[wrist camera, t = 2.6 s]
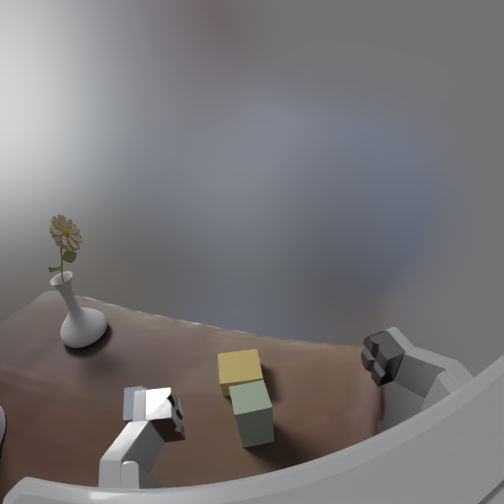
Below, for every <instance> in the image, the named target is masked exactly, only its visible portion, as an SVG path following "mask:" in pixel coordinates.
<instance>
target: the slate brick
mask: <svg viewBox="0 0 504 504" xmlns="http://www.w3.org/2000/svg"><path fill="white" fill-rule="evenodd" d="M138 388H144V387H143V386H138V387H130V388H124V413H123V420H124V422H125V423H126V424H128V423H129V422H133V402H134V391H135V389H138Z"/></svg>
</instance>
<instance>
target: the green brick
mask: <svg viewBox="0 0 504 504" xmlns="http://www.w3.org/2000/svg"><path fill="white" fill-rule="evenodd" d="M229 390H230V395H231V400H232V404H233V409H234V414H235V418H236V422H237V425H238V429H239V433H240V437H241V441H242V444H243V448H246V447H251V446H256V445H260V444H265V443H269V442H274V430H273V410H272V404H271V401H270V398H269V395H268V392H267V389H266V386H265V383H264V380H260V381H256V382H251V383H246V384H241V385H236V386H230V387H229Z"/></svg>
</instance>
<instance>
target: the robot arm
mask: <svg viewBox="0 0 504 504" xmlns="http://www.w3.org/2000/svg"><path fill="white" fill-rule="evenodd" d="M364 345H365V348H364V349H363V350H362V353H361V360H362V363H363V366H364V367H365V369H366V370H367V371H370V372H372V374H371V378H372V379H373V380H374V382H375V383H376V385H377V386H378V387H380V386H382V385H385V384H387V383H389V382H392V381H394V382H396V383H397V384H399V385H401V386H403V387H405V388H407V389H408V390H410V391H412V392H414V393H416V394H418V395H420V396H422V397H424V398H425V400H424V402H423V403H422V405H421V408H420V409H421V410H422V412H420V413H419V414H417V415H416V416H413V417H412V418H410V419H408V420H406V421H404V422H402V423H400V424H398V425H396V426H394V427H393V428H390V429H388V430H386V431H384V432H382V433H380V434H378V435H376V436H373V437H371V438H369V439H367V440H365V441H362V442H360V443H357V444H355V445H353V446H350V447H348V448H345V449H343V450H340V451H337V452H335V453H332V454H329V455H326V456H324V457H321V458H318V459H315V460H312V461H309V462H306V463H302V464H299V465H296V466H292V467H289V468H285V469H281V470H278V471H274V472H270V473H265V474H261V475H257V476H252V477H247V478H242V479H237V480H231V481H226V482H219V483H212V484H205V485H196V486H186V487H174V488H161V484H159V483H158V482H157V481H156V480H155V479H154V478H153V477H152V476H150V475H149V474H150V472H151V470H152V468H153V466H154V465H155V463H156V461H157V459H158V457H159V455H160V453H161V451H162V449H163V447H164V446H165V444H166V443H165V442H172V441H180V440H185V433H184V426H183V424H182V422H181V420H182V418H183V413H182V408H181V404H180V401H179V399H178V397H177V396H175V390H174V388H173V386H172V385H168V386H158V387H148V388H138V389H135V391H134V402H133V422H129V423H128V424H127V425H126V427H125V428H124V429H123V431H122V432H121V433H120V435H119V436H118V437H117V439H116V440H115V441H114V443H113V444H112V445H111V447H110V448H109V449H108V450H107V452H106V453H105V454H104V456H103V457H102V458H101V460H100V469H99V487H89V486H80V485H71V484H64V483H58V482H52V481H47V480H42V479H37V478H32V477H25V478H23V479H22V480H21V481H19V482H18V483H17V484H16V485H15V486H14V487H13V488H12V489H11V490H10V491H9V492H8V493H7V495H6V496H5V498H4V500H3V504H504V354H503V355H502V356H501V357H500V358H498V359H497V360H496V361H495V362H494V363H492V364H491V365H490V366H489V367H487V368H486V369H485V370H483V371H482V372H481V373H480V374H478V375H477V376H476V377H473V376H472V375H471V374H470V373H469V372H468V371H467V370H466V369H465V367H464V366H463V365H462V364H461V363H460V362H459V361H456V360H454V359H450V358H448V357H445V356H442V355H439V354H436V353H433V352H430V351H428V350H424V349H422V348H419V347H417V348H415V347H414V346H413V345H412V344H411V343H410V342H409V340H408V339H407V338H406V337H405V336H404V335H403V334H402V333H401V332H400V331H399V330H398V329H397V328H396V327H392V328H390V329H387V330H384V331H381V332H378V333H376V334H373V335H370V336H368V337H366V338H365V339H364ZM5 425H6V420H5V414H4V411H3V409H2V407H1V406H0V445H1V441H2V439H3V436H4V432H5Z"/></svg>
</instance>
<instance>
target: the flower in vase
mask: <svg viewBox="0 0 504 504" xmlns="http://www.w3.org/2000/svg"><path fill="white" fill-rule="evenodd" d="M51 223H52V224H50V227H49V228H50V233H51V234H53V235H52V238H53V239H54V240H55V241H56V245H58V246H60V250H61V267H57V268H50V267H49V271H50V272H53V271H58V270H61V273H60V274H58V275H56V276H55V277H53V278H52V280H51V282H50V284H51V285H52V286H54V287H55V288H57V289H58V290H59V292H60V293H61V295H62V296H63V298H64V300H65V302H66V304H67V307H68V310H69V313H68V316H67V317H66V319H65V321H64V322H63V324H62V327H61V331H60V336H61V340H62V342H63V343H64V344H65V345H67V346H69V347H73V348H81V347H85V346H88V345H90V344H92V343H94V342H96V341H97V340H98V339H99V338H100V337H101V336H102V335H103V334H104V332H105V330H106V328H107V318H106V316H105V315H104V314H103V313H101V312H100V311H97V310H94V309H89V308H82V307H80V306H79V305H78V303H77V301H76V299H75V297H74V294H73V290H72V285H71V281H72V276H73V274H72V272H63V269H62V268H63V260H64V261H66V262H69V263H72V262H73V261H74V260H75V258H76V254H77V253H76V252H74V250H77V249H80V245H79V244H78V243H82V240H81V238H82V237H81V235H79V234H78V233H79V232H80V230H79V229H78V228H76V225H75V224H73V223H72V220H71V219H67V220H66V217H64V216H63V215H60V214H58V217H57V218H56V217H55V216H53V219H51ZM77 242H78V243H77ZM62 249H65V252H64V254H63V256H62Z"/></svg>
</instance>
